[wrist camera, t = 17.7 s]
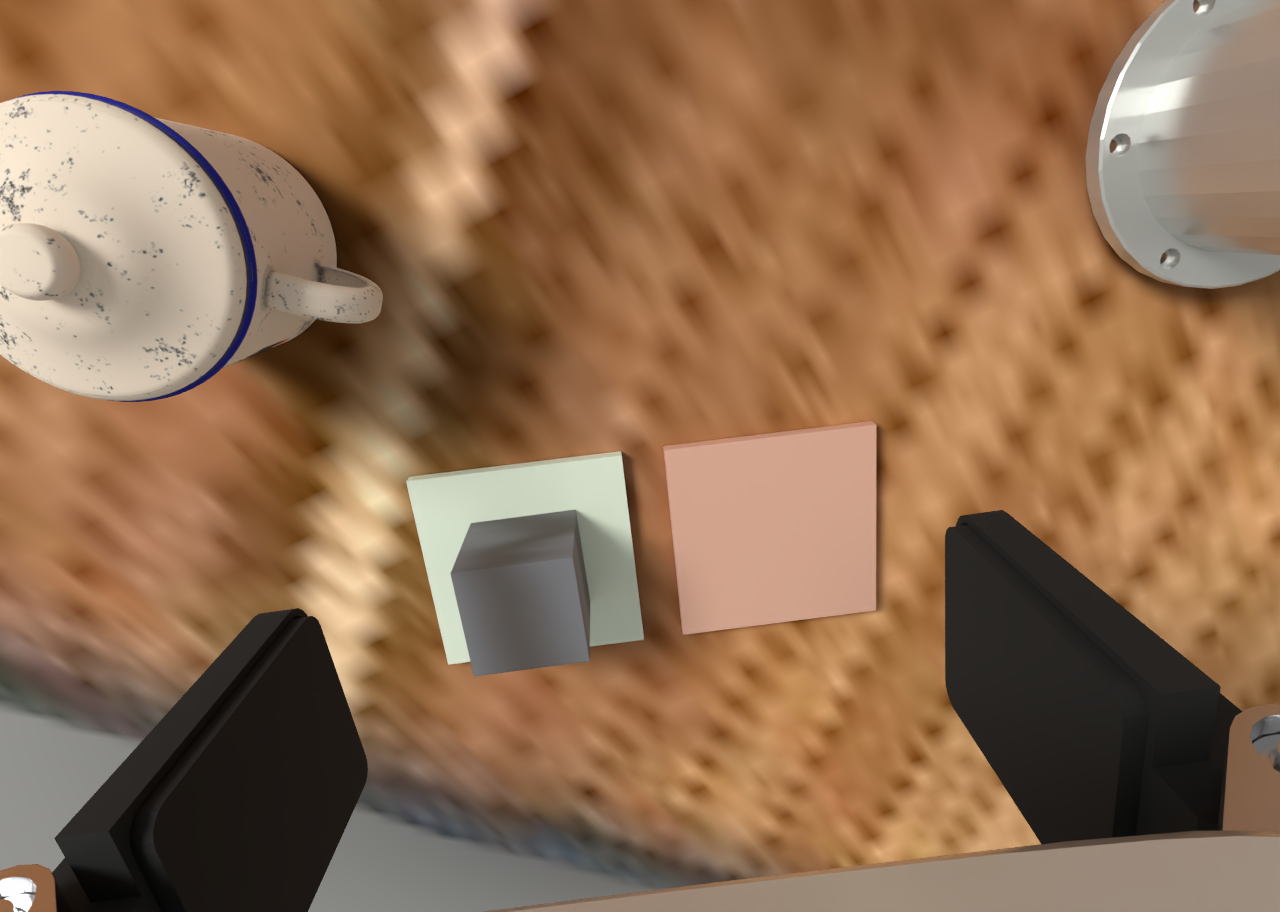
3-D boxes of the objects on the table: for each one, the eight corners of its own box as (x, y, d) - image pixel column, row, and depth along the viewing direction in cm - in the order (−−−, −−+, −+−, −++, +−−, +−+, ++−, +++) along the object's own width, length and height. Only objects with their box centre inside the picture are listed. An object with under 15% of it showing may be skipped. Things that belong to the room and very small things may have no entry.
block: (575, 509, 34) (572, 557, 29) (590, 601, 35) (589, 661, 31) (470, 523, 34) (450, 573, 29) (490, 614, 35) (473, 676, 30)
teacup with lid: (113, 324, 30) (-163, 385, 19) (123, 96, 28) (-190, 17, 17) (397, 392, 32) (292, 484, 21) (432, 184, 29) (334, 164, 18)
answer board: (871, 421, 34) (876, 424, 33) (871, 604, 37) (876, 610, 36) (409, 476, 33) (406, 481, 33) (450, 657, 37) (448, 664, 36)
